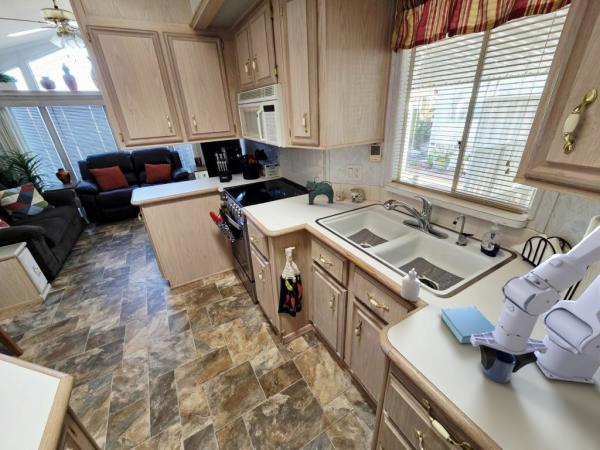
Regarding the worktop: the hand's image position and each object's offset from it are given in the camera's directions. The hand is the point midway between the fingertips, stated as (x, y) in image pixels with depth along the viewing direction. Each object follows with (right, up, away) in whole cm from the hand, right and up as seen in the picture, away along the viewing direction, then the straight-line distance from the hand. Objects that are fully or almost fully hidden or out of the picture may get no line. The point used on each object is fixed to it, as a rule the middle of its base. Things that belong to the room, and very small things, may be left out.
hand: (497, 367), depth 61 cm
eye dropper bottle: (-10, +9, +27) cm, 30 cm away
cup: (0, -2, +1) cm, 2 cm away
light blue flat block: (+2, +4, +13) cm, 14 cm away
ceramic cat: (-34, +51, +122) cm, 136 cm away
